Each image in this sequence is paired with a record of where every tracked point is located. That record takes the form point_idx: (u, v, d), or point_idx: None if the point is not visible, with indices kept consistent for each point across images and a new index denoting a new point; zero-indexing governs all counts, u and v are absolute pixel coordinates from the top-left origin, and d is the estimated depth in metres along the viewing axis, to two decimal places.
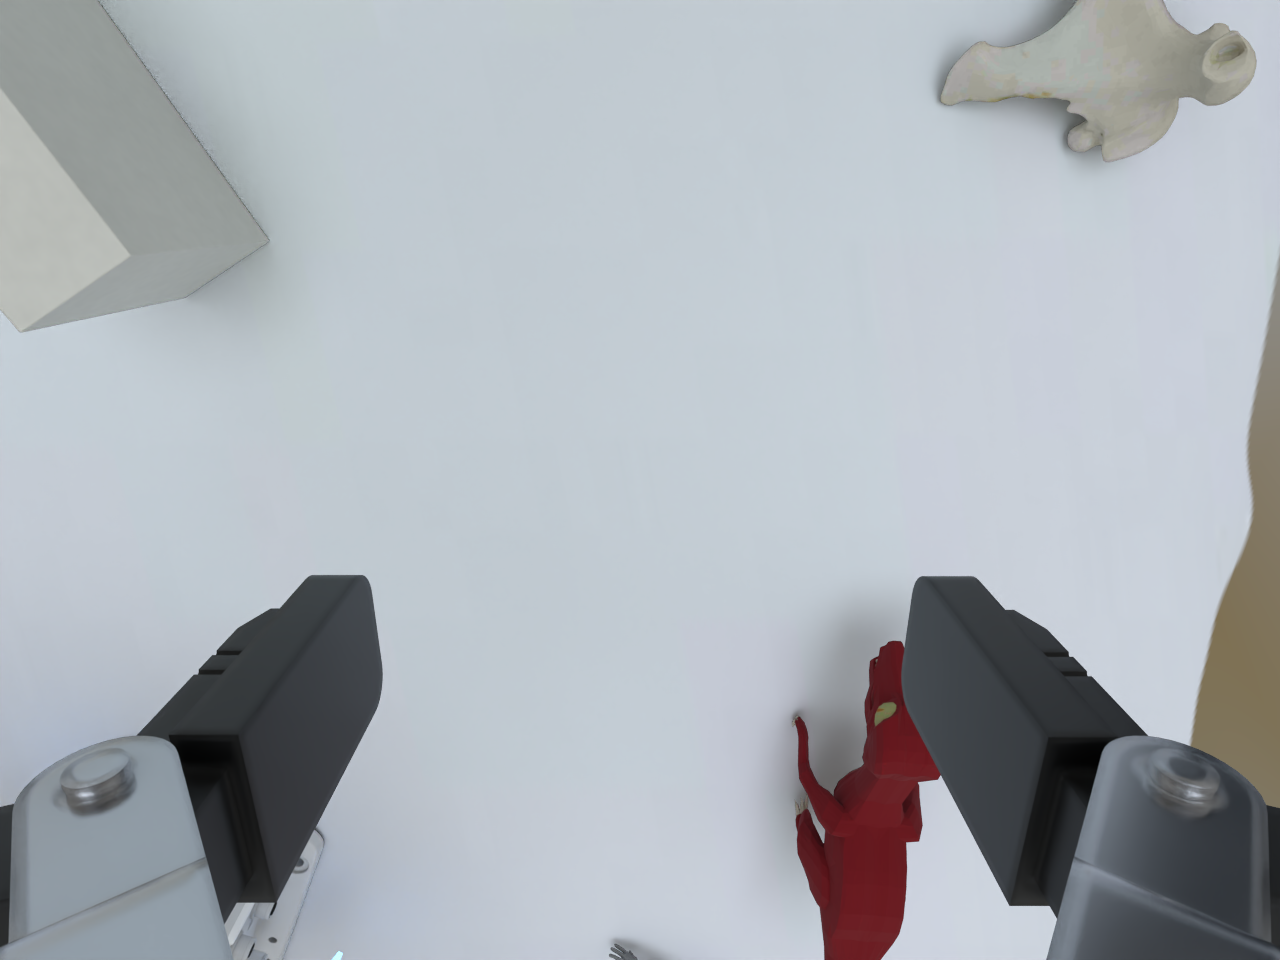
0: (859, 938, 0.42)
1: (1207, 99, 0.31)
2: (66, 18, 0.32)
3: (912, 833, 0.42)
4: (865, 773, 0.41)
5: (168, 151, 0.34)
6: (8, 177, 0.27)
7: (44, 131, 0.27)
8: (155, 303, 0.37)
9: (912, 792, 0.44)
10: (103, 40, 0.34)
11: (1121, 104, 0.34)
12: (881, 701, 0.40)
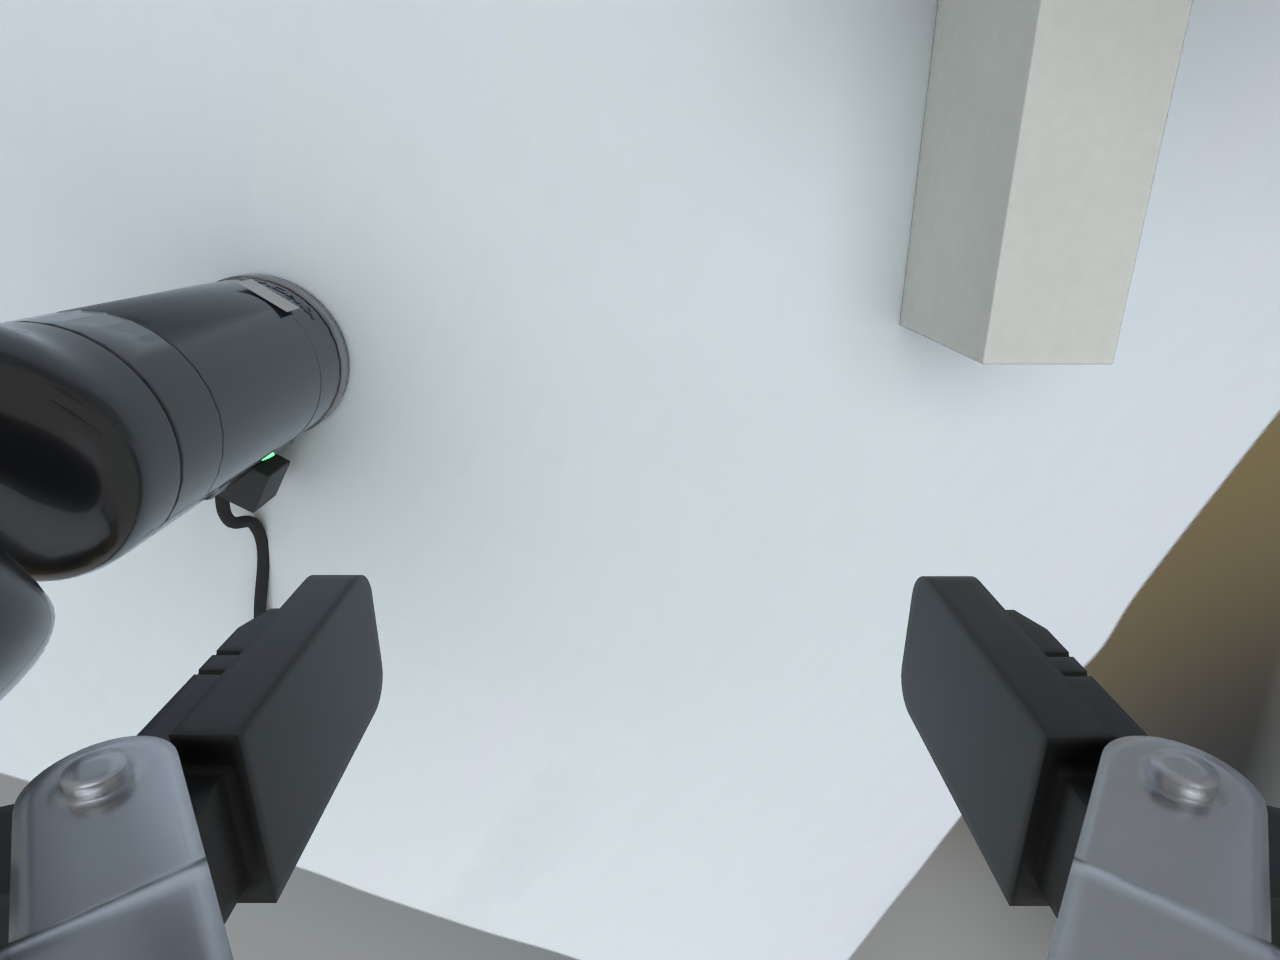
0: None
1: None
2: (960, 44, 0.35)
3: None
4: None
5: None
6: None
7: None
8: None
9: None
10: (948, 37, 0.37)
11: None
12: None
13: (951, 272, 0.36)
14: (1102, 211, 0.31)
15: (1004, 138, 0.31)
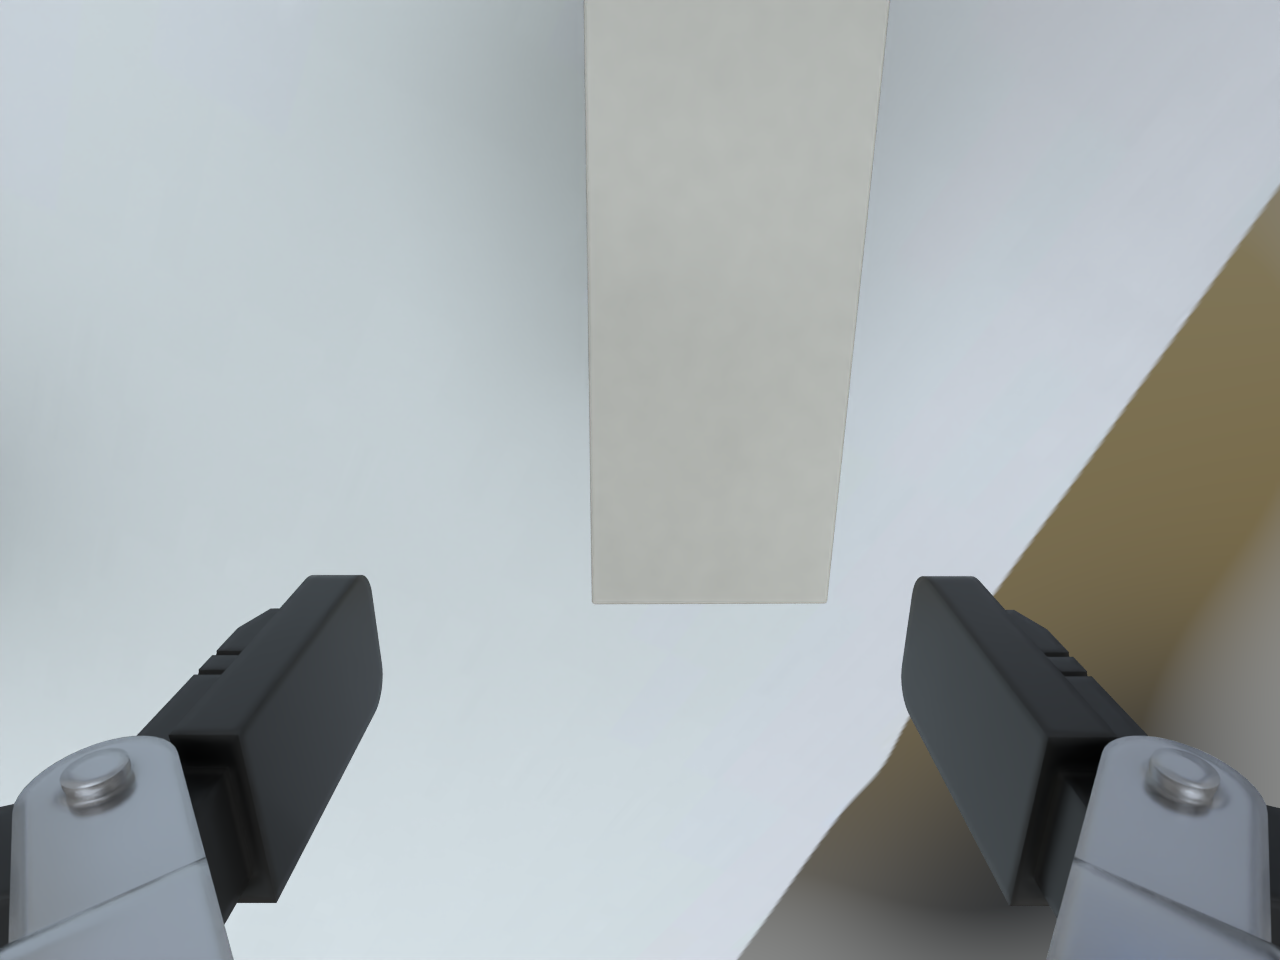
0: None
1: None
2: None
3: None
4: None
5: None
6: None
7: None
8: None
9: None
10: None
11: None
12: None
13: None
14: (771, 344, 0.16)
15: None
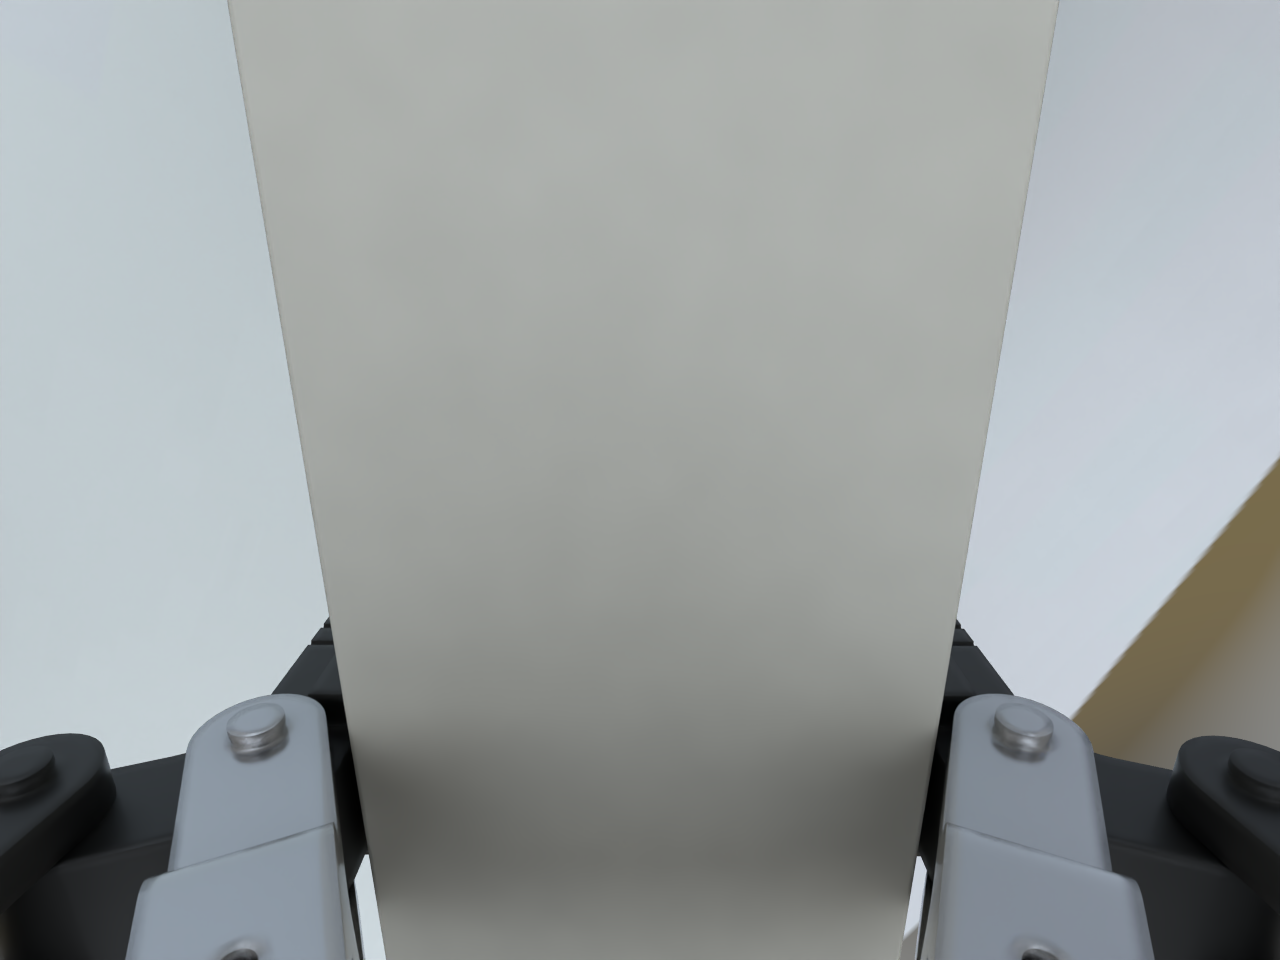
0: None
1: None
2: None
3: None
4: None
5: None
6: None
7: None
8: None
9: None
10: None
11: None
12: None
13: None
14: (765, 523, 0.07)
15: None
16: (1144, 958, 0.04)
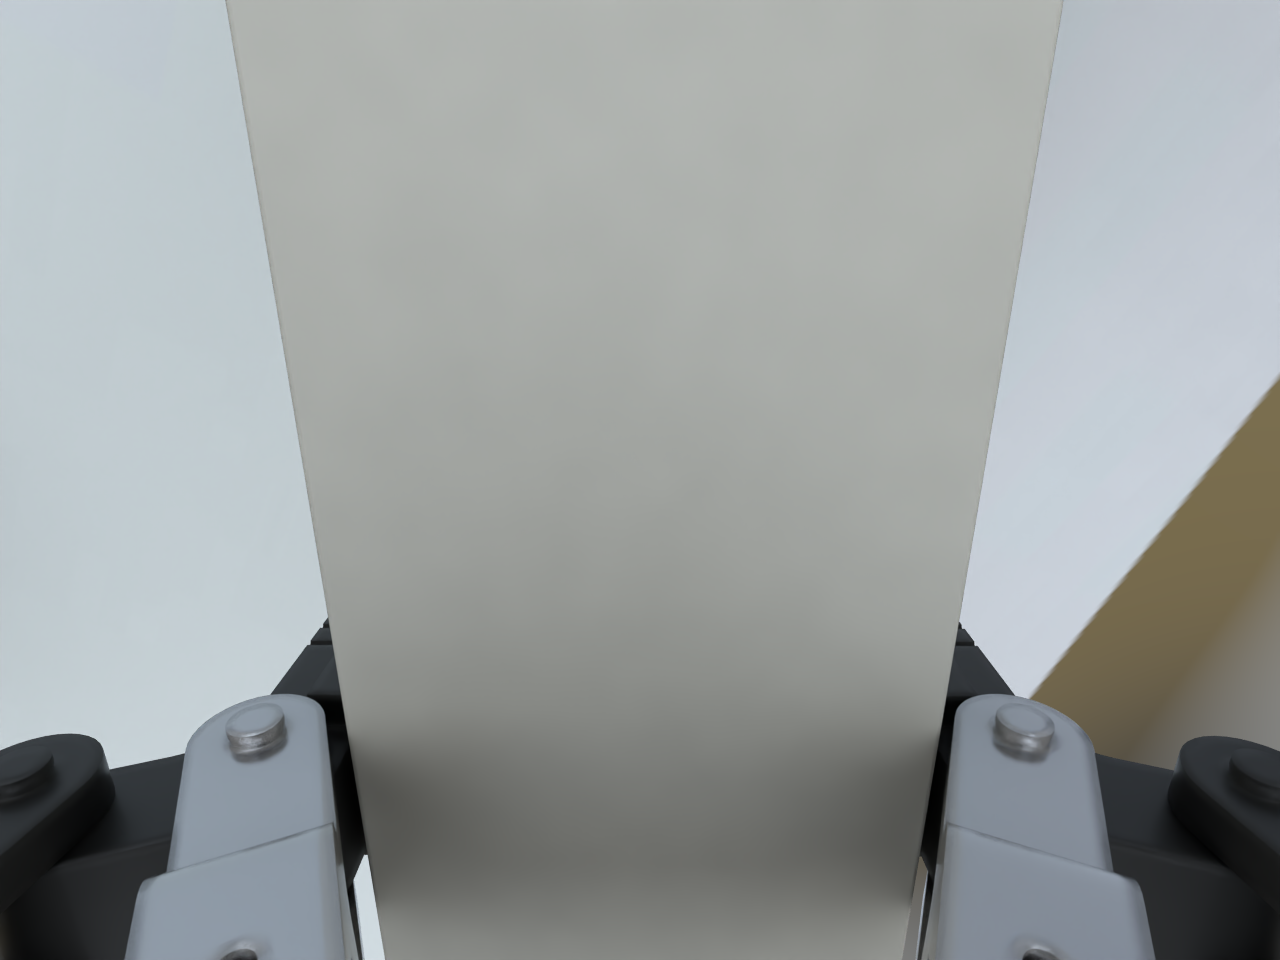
0: None
1: None
2: None
3: None
4: None
5: None
6: None
7: None
8: None
9: None
10: None
11: None
12: None
13: None
14: (767, 526, 0.07)
15: None
16: (1145, 958, 0.04)
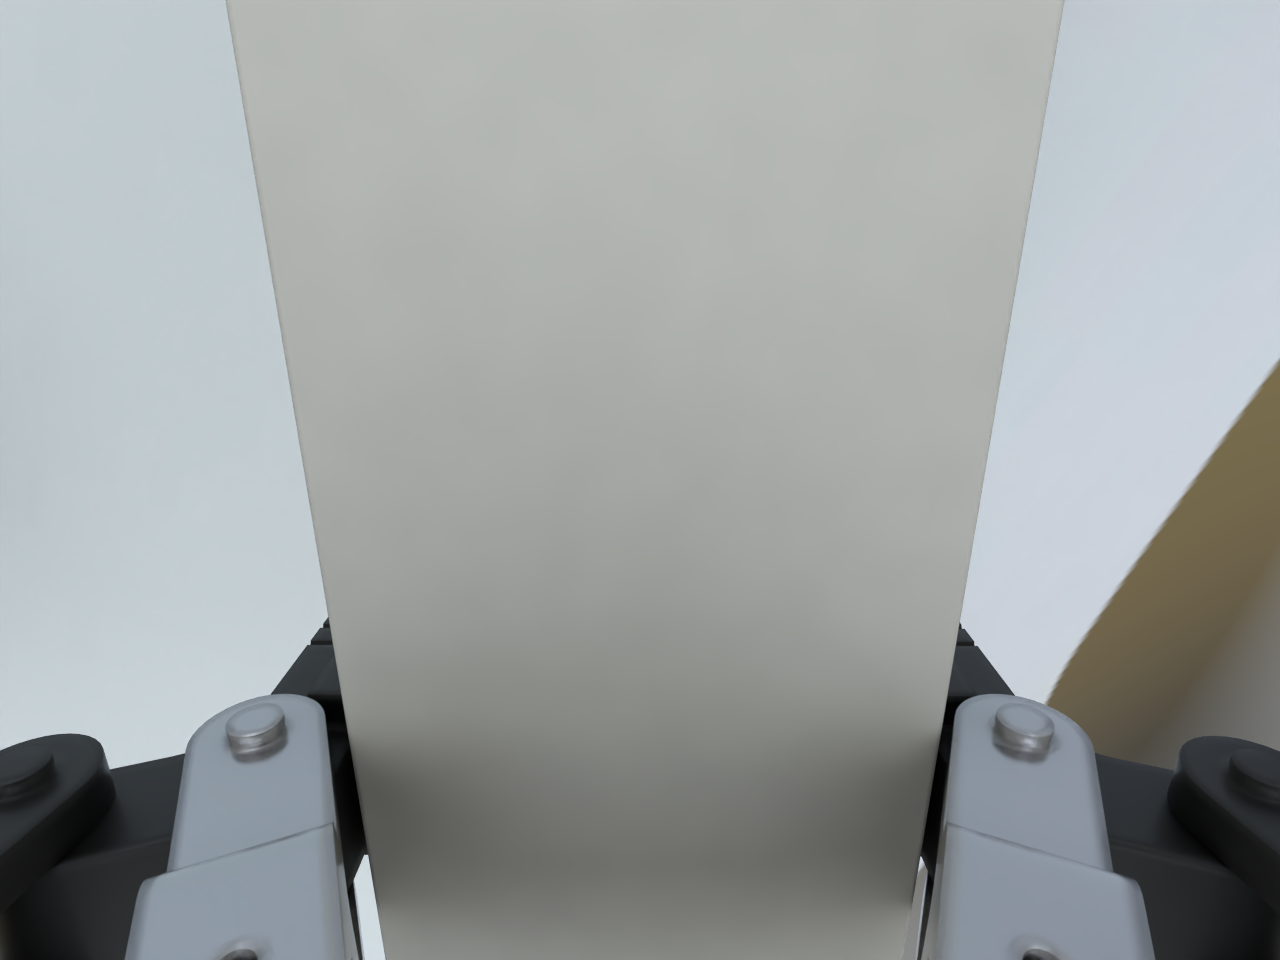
0: None
1: None
2: None
3: None
4: None
5: None
6: None
7: None
8: None
9: None
10: None
11: None
12: None
13: None
14: (768, 523, 0.07)
15: None
16: (1145, 958, 0.04)
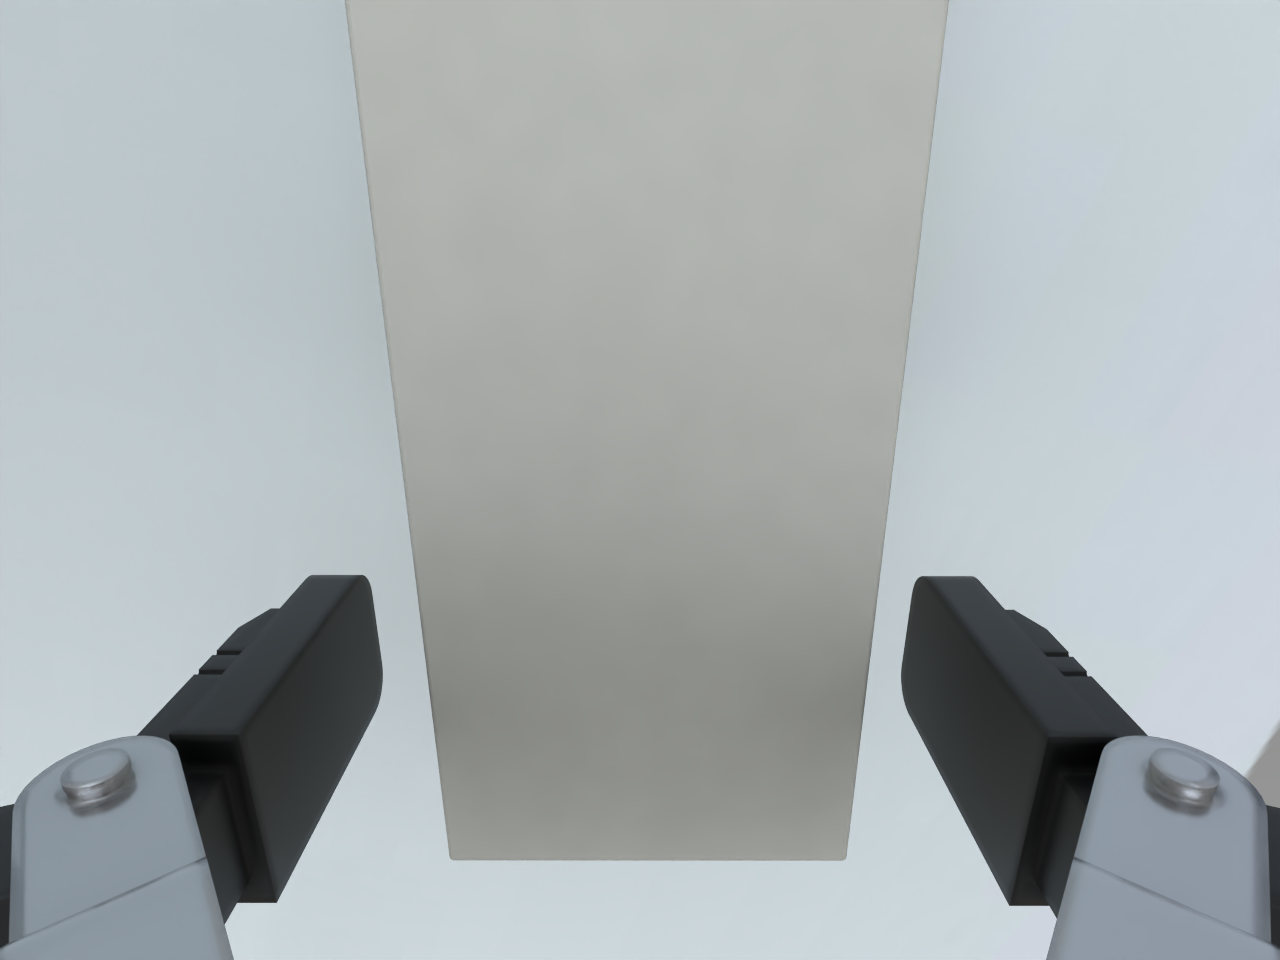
0: None
1: None
2: None
3: None
4: None
5: None
6: None
7: None
8: None
9: None
10: None
11: None
12: None
13: None
14: (738, 444, 0.09)
15: None
16: None
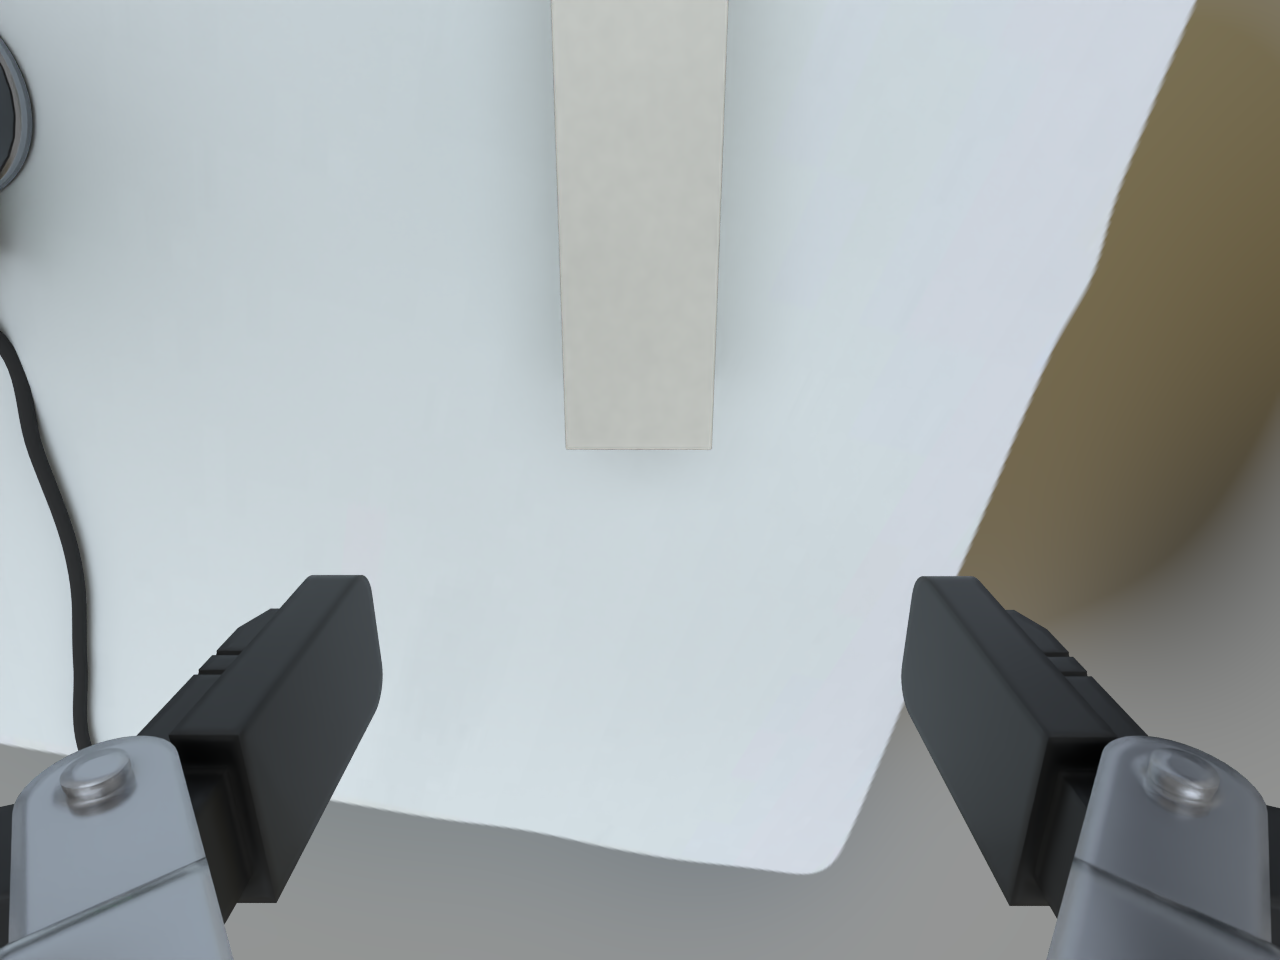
0: None
1: None
2: None
3: None
4: None
5: None
6: None
7: None
8: None
9: None
10: None
11: None
12: None
13: None
14: (668, 285, 0.28)
15: None
16: None
